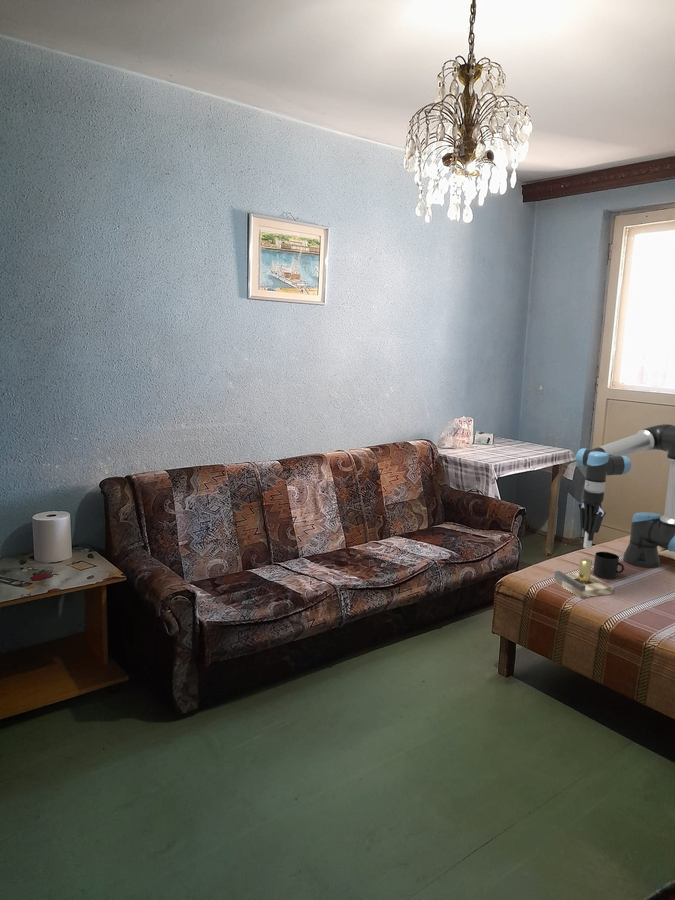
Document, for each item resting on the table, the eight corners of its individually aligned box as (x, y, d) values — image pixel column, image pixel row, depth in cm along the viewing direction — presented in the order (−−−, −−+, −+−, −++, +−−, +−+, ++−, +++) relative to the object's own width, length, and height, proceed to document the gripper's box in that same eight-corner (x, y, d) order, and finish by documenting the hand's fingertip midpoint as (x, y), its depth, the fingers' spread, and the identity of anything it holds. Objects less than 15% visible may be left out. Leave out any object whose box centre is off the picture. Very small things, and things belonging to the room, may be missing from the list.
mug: (620, 583, 267) (622, 562, 265) (590, 575, 273) (592, 555, 272) (625, 576, 274) (627, 556, 272) (596, 569, 281) (598, 549, 279)
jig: (585, 578, 270) (586, 567, 269) (612, 593, 255) (614, 582, 254) (553, 582, 264) (555, 571, 264) (580, 598, 250) (581, 586, 249)
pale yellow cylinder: (583, 585, 262) (586, 558, 260) (590, 589, 258) (594, 561, 256) (574, 586, 261) (577, 558, 259) (582, 590, 257) (585, 562, 255)
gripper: (575, 487, 256) (568, 542, 261) (598, 495, 244) (590, 553, 249) (590, 486, 259) (583, 541, 264) (613, 494, 247) (606, 552, 252)
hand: (587, 547), depth 256 cm, fingers closed
